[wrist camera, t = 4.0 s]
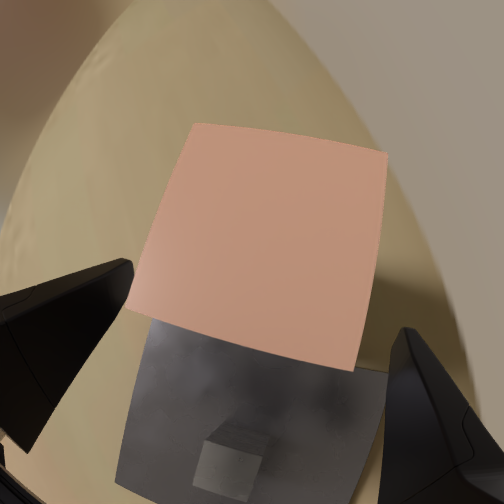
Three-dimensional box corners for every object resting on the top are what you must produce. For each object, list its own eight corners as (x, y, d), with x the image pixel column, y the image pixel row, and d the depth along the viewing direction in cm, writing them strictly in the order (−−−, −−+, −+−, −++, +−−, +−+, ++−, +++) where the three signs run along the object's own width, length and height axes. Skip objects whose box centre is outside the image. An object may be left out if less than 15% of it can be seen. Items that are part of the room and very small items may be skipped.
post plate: (325, 544, 13) (329, 582, 9) (118, 479, 16) (83, 500, 12) (390, 373, 17) (417, 380, 12) (157, 314, 20) (122, 304, 15)
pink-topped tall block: (317, 355, 18) (353, 371, 6) (226, 332, 19) (124, 307, 7) (338, 265, 19) (388, 152, 8) (250, 246, 20) (194, 122, 9)
